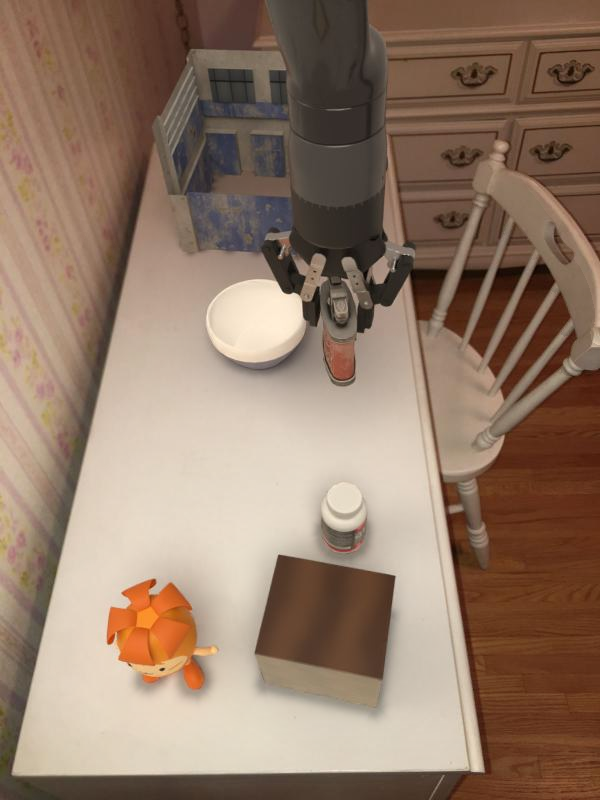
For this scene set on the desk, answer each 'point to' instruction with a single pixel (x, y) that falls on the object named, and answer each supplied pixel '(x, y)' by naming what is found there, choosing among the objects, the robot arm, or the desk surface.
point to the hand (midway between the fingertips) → (338, 323)
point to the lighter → (338, 331)
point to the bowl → (255, 323)
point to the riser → (326, 630)
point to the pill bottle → (343, 518)
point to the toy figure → (157, 634)
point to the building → (225, 147)
